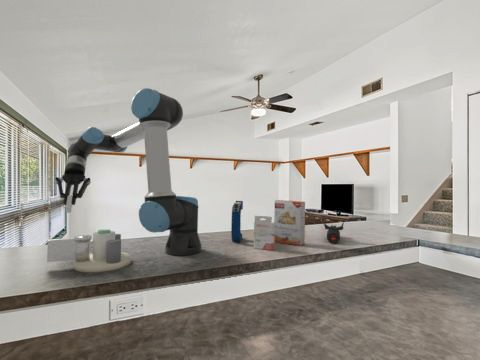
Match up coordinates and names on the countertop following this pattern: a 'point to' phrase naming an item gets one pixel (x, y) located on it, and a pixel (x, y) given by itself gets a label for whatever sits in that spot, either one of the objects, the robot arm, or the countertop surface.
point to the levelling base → (102, 264)
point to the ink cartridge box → (263, 233)
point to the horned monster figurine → (333, 233)
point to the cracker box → (289, 222)
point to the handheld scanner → (236, 221)
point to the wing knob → (69, 249)
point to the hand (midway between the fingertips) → (68, 210)
